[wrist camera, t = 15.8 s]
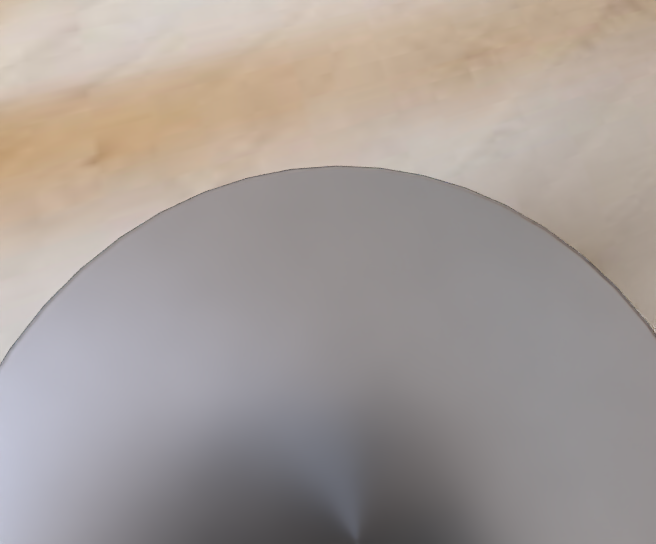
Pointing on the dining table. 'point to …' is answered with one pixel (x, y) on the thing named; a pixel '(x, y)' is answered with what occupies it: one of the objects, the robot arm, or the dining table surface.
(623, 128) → the dining table surface
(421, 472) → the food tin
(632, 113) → the dining table surface
